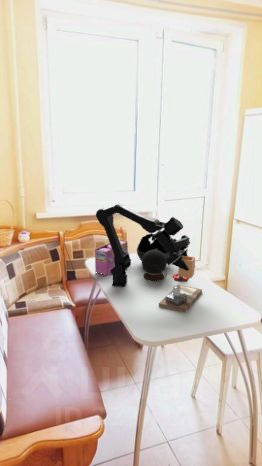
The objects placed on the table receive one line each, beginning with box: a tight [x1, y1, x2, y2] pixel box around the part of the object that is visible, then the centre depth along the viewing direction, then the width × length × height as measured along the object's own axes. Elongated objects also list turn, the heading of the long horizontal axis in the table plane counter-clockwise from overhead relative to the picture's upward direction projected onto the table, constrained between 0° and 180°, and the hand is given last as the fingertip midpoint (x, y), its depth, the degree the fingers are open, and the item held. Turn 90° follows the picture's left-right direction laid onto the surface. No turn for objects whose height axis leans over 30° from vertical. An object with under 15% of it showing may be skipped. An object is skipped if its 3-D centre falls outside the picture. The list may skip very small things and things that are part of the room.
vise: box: [165, 285, 187, 306], centre depth 144 cm, size 7×10×6 cm
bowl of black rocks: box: [136, 233, 169, 262], centre depth 190 cm, size 20×20×19 cm
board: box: [158, 284, 203, 314], centre depth 149 cm, size 23×12×2 cm, turn 152°
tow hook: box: [172, 273, 189, 282], centre depth 173 cm, size 8×13×9 cm
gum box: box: [94, 240, 129, 276], centre depth 187 cm, size 24×8×14 cm, turn 150°
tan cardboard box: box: [177, 255, 196, 279], centre depth 150 cm, size 6×6×8 cm
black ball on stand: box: [141, 250, 168, 282], centre depth 173 cm, size 13×13×15 cm
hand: (189, 267), depth 150 cm, fingers closed on tan cardboard box, 6 cm apart
